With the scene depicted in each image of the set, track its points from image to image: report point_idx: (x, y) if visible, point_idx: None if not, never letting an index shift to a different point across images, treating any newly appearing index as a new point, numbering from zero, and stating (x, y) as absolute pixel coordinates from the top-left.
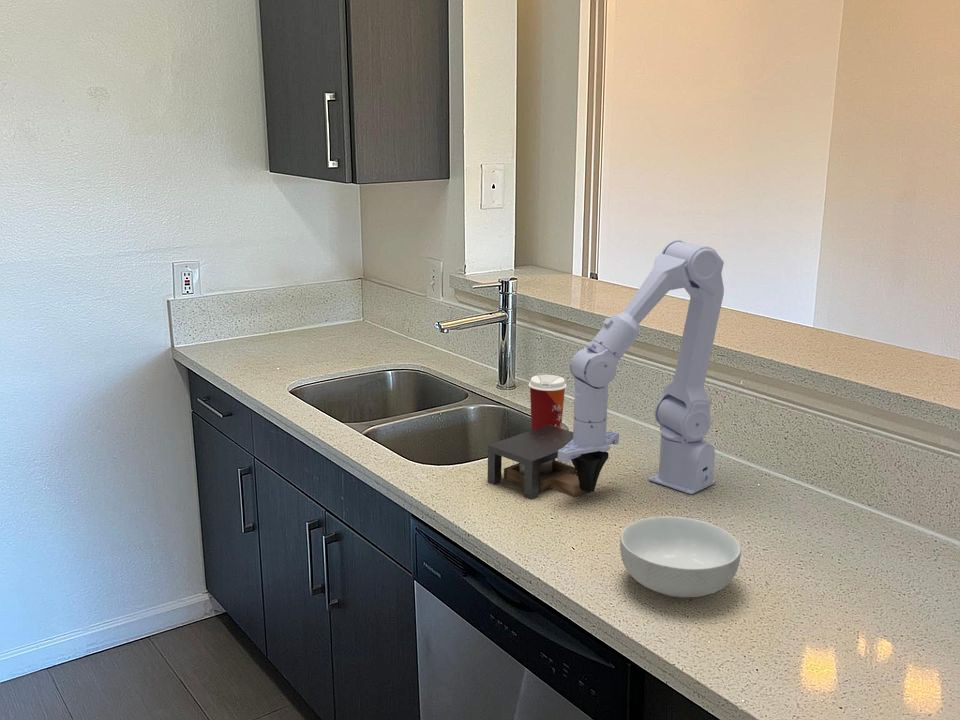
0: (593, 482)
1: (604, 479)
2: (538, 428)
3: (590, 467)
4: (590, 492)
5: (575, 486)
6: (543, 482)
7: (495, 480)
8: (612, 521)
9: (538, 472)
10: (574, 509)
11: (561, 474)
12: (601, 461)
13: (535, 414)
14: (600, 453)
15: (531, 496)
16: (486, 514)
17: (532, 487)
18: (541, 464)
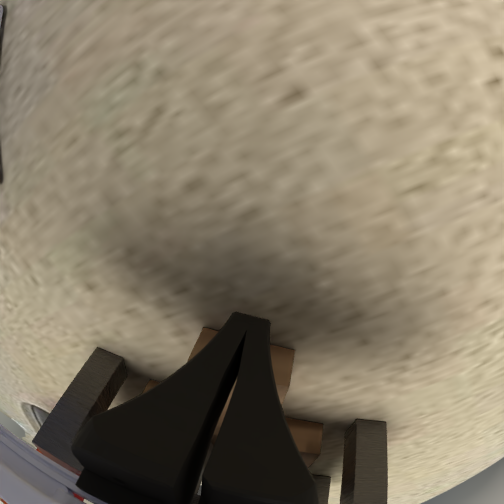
0: (246, 348)
1: (88, 308)
2: None
3: (302, 459)
4: (261, 318)
5: (285, 383)
6: (304, 446)
7: (326, 484)
8: (470, 105)
9: (357, 495)
10: (418, 307)
11: (217, 430)
12: (176, 443)
13: (82, 498)
14: (130, 484)
15: (385, 430)
16: (497, 432)
17: (385, 455)
18: (203, 465)
